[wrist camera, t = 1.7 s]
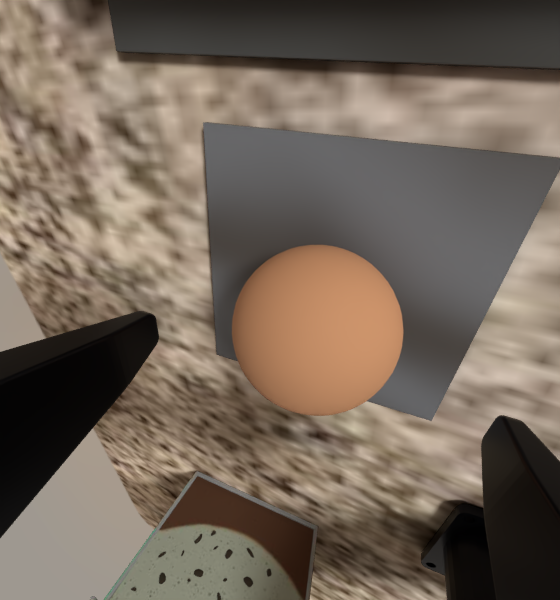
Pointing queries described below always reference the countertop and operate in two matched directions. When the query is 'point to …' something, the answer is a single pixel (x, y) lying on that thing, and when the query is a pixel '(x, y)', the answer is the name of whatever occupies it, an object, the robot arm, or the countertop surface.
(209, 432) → the countertop surface
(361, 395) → the ball
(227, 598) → the food container
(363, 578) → the countertop surface
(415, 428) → the countertop surface
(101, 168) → the countertop surface
